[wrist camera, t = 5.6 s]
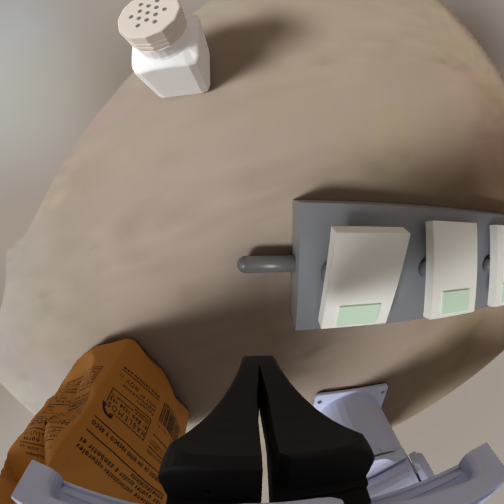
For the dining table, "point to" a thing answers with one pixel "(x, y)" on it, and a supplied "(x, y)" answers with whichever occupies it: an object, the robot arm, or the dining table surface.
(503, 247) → the rocker
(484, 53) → the dining table surface
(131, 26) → the pepper shaker
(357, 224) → the switch strip
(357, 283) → the rocker
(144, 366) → the coffee package
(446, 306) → the rocker
